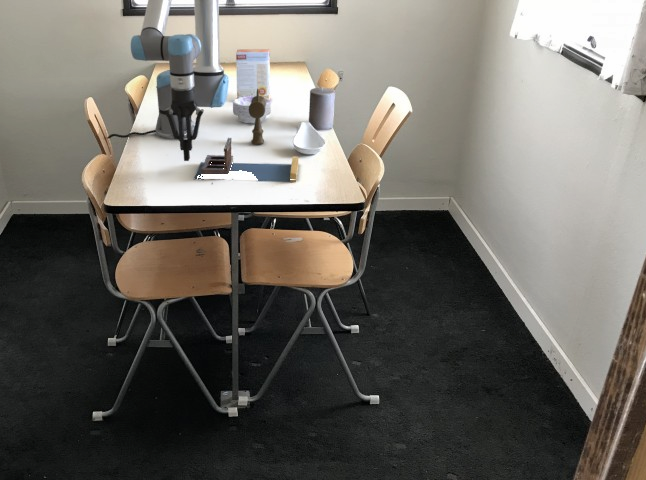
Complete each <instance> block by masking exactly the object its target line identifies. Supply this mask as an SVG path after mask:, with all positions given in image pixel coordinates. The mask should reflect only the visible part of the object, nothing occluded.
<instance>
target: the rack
mask: <svg viewBox="0 0 646 480" xmlns="http://www.w3.org/2000/svg"><path fill="white" fill-rule="evenodd" d="M203 162H204V164H203V166H202V168H201V174H228V173H229V171H231V170H230V168H231V169H232V167H231V165H232V166H233V164H232V162H233V163H234V155H232V137H227V140H226V142H225V145H224V147H223V155H222V154H217V155H216V154H206V157H205V159H204V161H203ZM211 162H212V163H211ZM224 163H225V164H224ZM210 164H211V165H210ZM217 168H224V169H217ZM202 177H203V176H202Z"/></svg>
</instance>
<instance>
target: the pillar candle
mask: <svg viewBox="0 0 646 480" xmlns="http://www.w3.org/2000/svg"><path fill="white" fill-rule="evenodd" d="M335 97H336V90H335V89H333V88H331V87H330V88H329V87H323V86H322V87H314V88H311V89H310V90H309V107H308V109H309V111H308V122H309V123H310V124H311V125H312V126H313V127H314V129H315V130H316V131H318V130H319V131H324V130H330V129H332V128H333V127H334V116H335V115H334V113H335V99H336V98H335Z"/></svg>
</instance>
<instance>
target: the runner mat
mask: <svg viewBox="0 0 646 480" xmlns="http://www.w3.org/2000/svg"><path fill="white" fill-rule="evenodd" d="M203 164H204V161H200V164H199V166H198V168H197V170H196V172H195V174H194V177H193V180H196V179H197V176H198V175H200V176H201V168H202V166H203ZM291 165H292V163H291V164H288V163H251V162H250V163H249V162H248V163H247V162H233V166H232V169H231V171H239V170H242V171H247V172H252V174H254V176H256V178H257V179H258V181H257V182H268V183H269V182H270V183H272V182H273V183H291V182H290V172H291ZM217 169H223V168H217ZM298 171H299V170H298ZM298 171H297V173H298ZM200 176H199V177H200ZM194 178H195V179H194ZM199 179H201V178H198V180H197V181H205V180H204V179H201V180H199Z"/></svg>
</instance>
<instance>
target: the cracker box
mask: <svg viewBox="0 0 646 480" xmlns="http://www.w3.org/2000/svg"><path fill="white" fill-rule="evenodd" d="M270 51H271V50H270V49H269V48H267V49H263V48H261V49H259V48H257V49H256V48H255V49H254V48H253V49H239V48H237V50H236V52H235V59H236V60H235V62H236V65H235V67H236V96H237V97H236V99H237V98H240V97H247V96H257V89H258V90H259V96H262V97H265V98H268V99H270V100H271V85H270V84H271V83H270V82H271V68H270V67H271V64H270V63H271V59H270V58H271V56H270V53H271V52H270Z"/></svg>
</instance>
